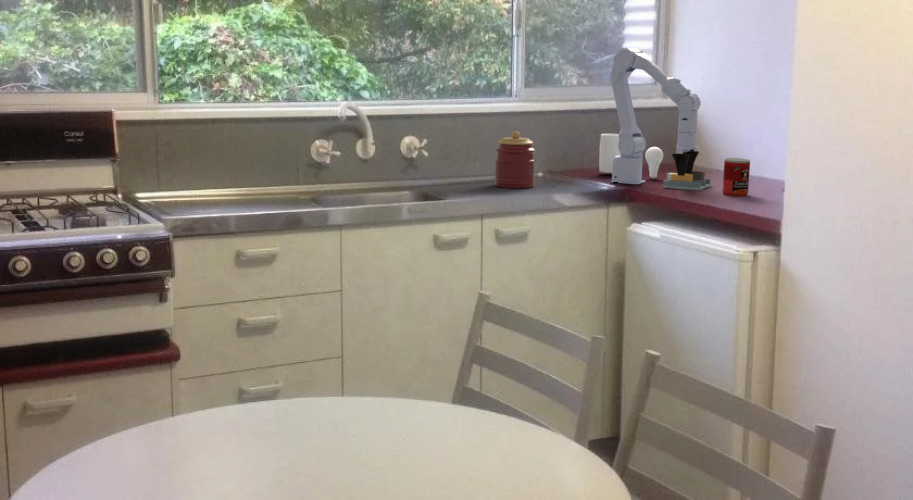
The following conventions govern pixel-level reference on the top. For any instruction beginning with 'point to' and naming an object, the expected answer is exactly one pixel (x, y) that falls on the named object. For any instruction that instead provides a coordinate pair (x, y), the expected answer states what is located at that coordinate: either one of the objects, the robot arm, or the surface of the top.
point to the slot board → (687, 184)
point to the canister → (515, 162)
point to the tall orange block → (680, 177)
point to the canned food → (736, 176)
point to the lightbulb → (654, 160)
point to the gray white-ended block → (697, 175)
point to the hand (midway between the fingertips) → (684, 174)
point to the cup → (608, 151)
